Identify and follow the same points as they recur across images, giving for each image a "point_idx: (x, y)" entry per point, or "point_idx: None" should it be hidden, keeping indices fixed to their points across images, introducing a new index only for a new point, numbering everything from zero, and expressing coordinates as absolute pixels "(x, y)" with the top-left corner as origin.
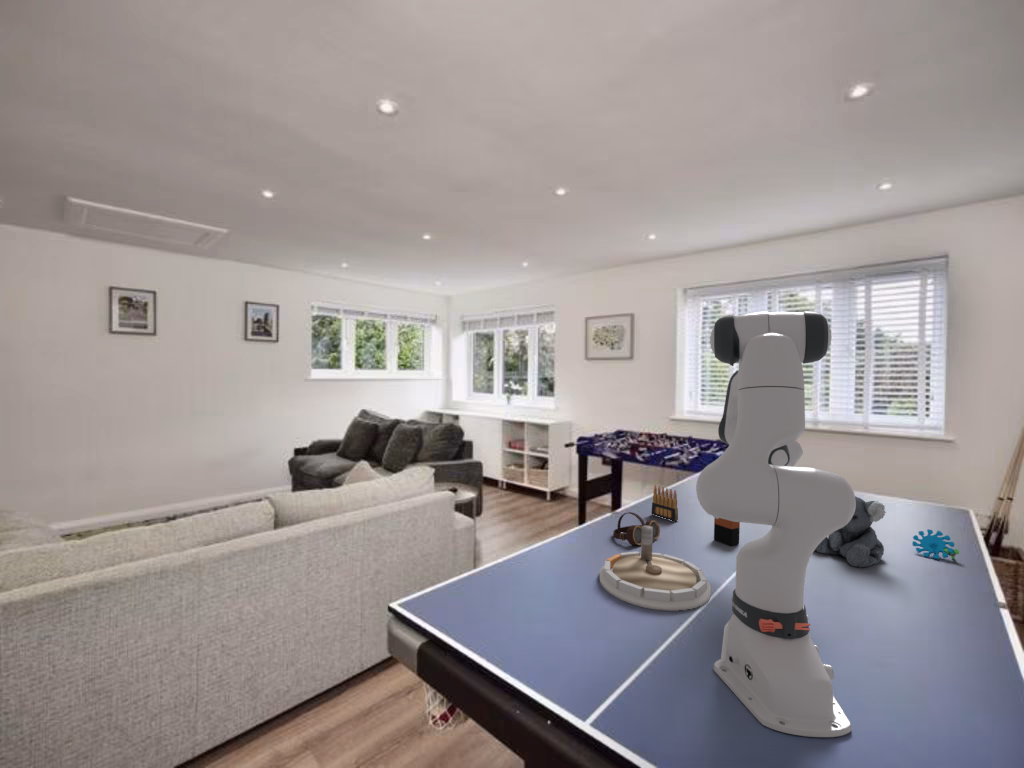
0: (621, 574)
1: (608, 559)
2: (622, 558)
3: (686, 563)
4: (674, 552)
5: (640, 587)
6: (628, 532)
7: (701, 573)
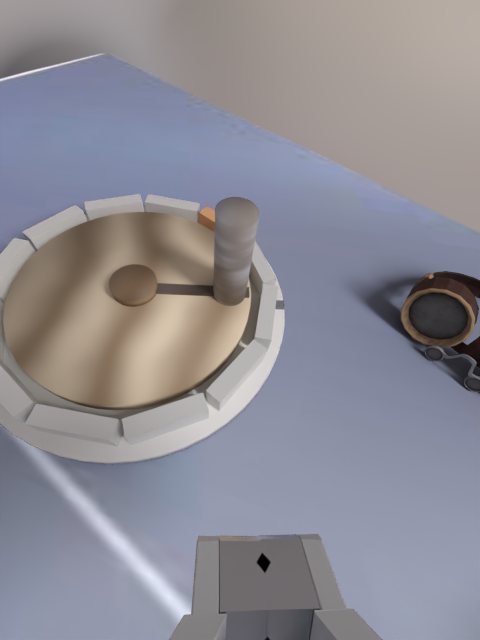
0: (124, 220)
1: (207, 209)
2: None
3: (184, 398)
4: (398, 437)
5: (32, 234)
6: (424, 283)
7: (89, 424)
